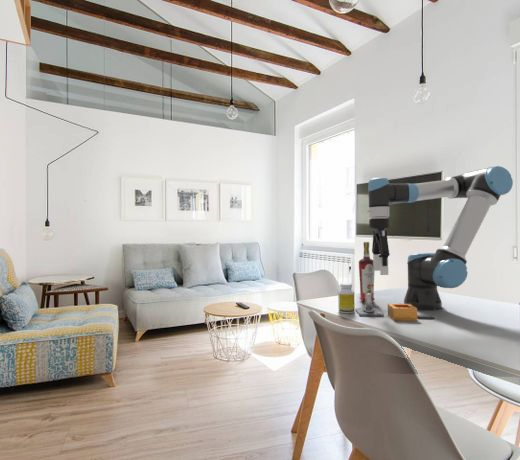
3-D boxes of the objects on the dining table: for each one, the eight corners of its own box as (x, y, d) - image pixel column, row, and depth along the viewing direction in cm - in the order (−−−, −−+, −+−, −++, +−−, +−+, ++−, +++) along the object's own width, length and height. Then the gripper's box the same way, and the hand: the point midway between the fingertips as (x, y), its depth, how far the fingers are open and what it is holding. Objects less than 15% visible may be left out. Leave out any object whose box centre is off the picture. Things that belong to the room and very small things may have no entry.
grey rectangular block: (432, 317, 136) (432, 315, 136) (434, 319, 134) (434, 316, 134) (415, 317, 137) (415, 315, 137) (418, 318, 135) (418, 316, 135)
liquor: (372, 300, 172) (371, 241, 172) (377, 303, 164) (377, 242, 164) (356, 300, 171) (356, 241, 172) (361, 303, 164) (361, 242, 164)
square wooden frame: (410, 315, 140) (409, 303, 140) (417, 320, 132) (417, 308, 132) (387, 315, 141) (387, 303, 141) (393, 320, 133) (393, 308, 133)
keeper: (355, 310, 150) (354, 291, 150) (377, 310, 149) (376, 291, 149) (359, 316, 139) (359, 296, 139) (383, 316, 138) (383, 296, 139)
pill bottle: (355, 314, 143) (354, 285, 143) (338, 313, 144) (338, 284, 144) (354, 310, 149) (353, 282, 149) (338, 310, 151) (338, 282, 151)
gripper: (364, 219, 152) (365, 269, 152) (375, 217, 127) (377, 276, 127) (382, 218, 151) (383, 268, 151) (397, 216, 126) (398, 276, 126)
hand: (380, 272), depth 139 cm, fingers open, 13 cm apart
